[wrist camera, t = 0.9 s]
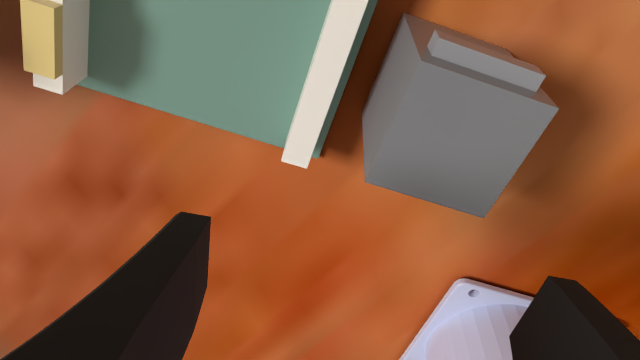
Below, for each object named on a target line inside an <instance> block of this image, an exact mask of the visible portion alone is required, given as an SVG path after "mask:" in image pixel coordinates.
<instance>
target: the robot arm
mask: <svg viewBox="0 0 640 360" xmlns="http://www.w3.org/2000/svg"><path fill="white" fill-rule="evenodd" d="M210 224H211V217H209V216H203V215H197V214H191V213H186V212H180V213H178V214H177V215H175V216H174V217H173V218H172V219H171V220H170V221H169V222H168V223H167V224H166V225H165V226H164V227H163V228H162V229H161V230H160V231H159V232H158V233H157V234H156V235H155V236H154V237H153V238H152V239H151V240H150V241H149V242H148V243H147V244H146V245H145V246H143V247H142V248H141V249H140V250H139V251H138V252H137V253H136V254H135V255H134V256H133V257H132V258H130V259H129V260H128V261H127V262H126V263H125V264H124V265H122V266H121V267H120V268H119V269H118V270H117V271H116V272H114V273H113V274H112V275H111V276H110V277H109V278H108V279H106V280H105V281H104V282H103V283H102V284H100V285H99V286H98V287H97V288H96V289H94V290H93V291H92V292H91V293H89V294H88V295H87V296H86V297H84V298H83V299H82V300H81V301H79V302H78V303H77V304H76V305H74V306H73V307H72V308H70V309H69V310H68V311H67V312H65V313H64V314H63V315H62V316H60V317H59V318H58V319H56V320H55V321H54V322H52V323H51V324H50V325H48V326H47V327H46V328H44V329H43V330H42V331H40V332H39V333H38V334H36V335H35V336H33V337H32V338H31V339H29V340H28V341H26V342H25V343H24V344H22V345H21V346H19V347H18V348H16V349H15V350H13V351H12V352H10V353H9V354H8V355H6V356H5V357H3V358H2V359H0V360H182V358H183V356H184V354H185V351H186V349H187V346H188V344H189V341H190V339H191V337H192V334H193V332H194V329H195V325H196V322H197V319H198V315H199V312H200V309H201V305H202V302H203V298H204V295H205V291H206V288H207V278H208V260H209V242H210ZM471 290H474V291H471ZM399 360H640V341H639V340H638V339H637V338H636V337H635V336H634V335H633V334H632V333H631V332H630V331H629V330H628V329H627V328H626V327H625V326H624V325H623V324H622V323H621V322H620V321H619V320H618V319H617V318H616V317H615V316H614V315H613V314H612V313H611V312H610V311H609V310H608V309H606V308H605V307H604V306H603V305H602V304H601V303H600V302H599V301H598V300H597V299H596V298H595V297H594V296H593V295H592V294H591V293H590V292H588V291H587V290H586V289H585V288H584V287H583V286H582V285H580V284H579V283H578V282H577V281H575V280H569V279H564V278H558V277H552V276H548V277H547V279H546V280H545V282H544V284H543V285H542V287H541V288H540V290H539V291H538V293H537V294H536V296H535V297H530V296H527V295H523V294H520V293H516V292H513V291H509V290H506V289H502V288H499V287H495V286H492V285H488V284H485V283H481V282H478V281H474V280H471V279H466V278H462V279H458V280H456V281H455V282H454V283H453V285H452V286H451V287H450V289H449V290H448V292H447V293H446V294H445V296H444V297H443V299H442V300H441V301H440V303H439V304H438V306H437V307H436V308H435V310H434V311H433V313H432V314H431V315H430V317H429V318H428V320H427V321H426V323H425V324H424V325H423V327H422V328H421V330H420V331H419V332H418V334H417V335H416V337H415V338H414V339H413V341H412V342H411V344H410V345H409V346H408V348H407V349H406V351H405V352H404V353H403V355H402V356H401V358H400V359H399Z"/></svg>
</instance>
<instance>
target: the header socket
mask: <svg viewBox="0 0 640 360" xmlns="http://www.w3.org/2000/svg"><path fill="white" fill-rule="evenodd" d="M377 2H378V0H20V8H21V27H22V46H23V66H24V70H25V71H28V72H31V73H33V86H35V87H38V88H42V89H45V90H48V91H52V92H55V93H58V94H61V95H63V94H64V93H66V92H67V91H68V90H70V89H71V88H72V87H74V86H75V85H80V86H83V87H86V88H89V89H93V90H96V91H99V92H102V93H106V94H109V95H112V96H115V97H119V98H122V99H125V100H128V101H132V102H135V103H138V104H142V105H145V106H148V107H151V108H155V109H158V110H161V111H164V112H168V113H171V114H174V115H177V116H181V117H184V118H187V119H190V120H194V121H197V122H200V123H203V124H207V125H210V126H213V127H216V128H220V129H223V130H226V131H230V132H233V133H236V134H239V135H243V136H246V137H249V138H252V139H256V140H259V141H262V142H265V143H269V144H272V145H275V146H278V147H282V148H284V151H283V156H282V160H281V161H283V162H286V163H289V164H293V165H296V166H299V167H302V168H306V169H307V166H308V164H309V161H310V158H311V157H314V158H318V157H319V155H320V152H321V150H322V147H323V144H324V142H325V139H326V136H327V134H328V131H329V128H330V126H331V123H332V120H333V118H334V115H335V113H336V110H337V107H338V105H339V102H340V99H341V97H342V94H343V91H344V89H345V86H346V84H347V81H348V78H349V76H350V73H351V70H352V68H353V65H354V62H355V60H356V57H357V54H358V52H359V49H360V47H361V44H362V41H363V39H364V36H365V33H366V31H367V28H368V25H369V23H370V20H371V17H372V15H373V12H374V10H375V7H376V4H377Z"/></svg>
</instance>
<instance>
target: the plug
mask: <svg viewBox="0 0 640 360" xmlns="http://www.w3.org/2000/svg"><path fill="white" fill-rule="evenodd" d="M545 77H546V75H545V74H544V73H543V72H542V71H541V70H540V69H539V68H538V67H537V66H536V65H533V64H530V63H527V62H525V61H522V60H519V59H516V58H514V57H513V56H512V55H511V54H510V53H509V51H508V50H507V49H504V48H502V47H499V46H496V45H493V44H490V43H488V42H485V41H482V40H479V39H476V38H474V37H471V36H468V35H465V34H463V33H460V32H457V31H454V30H451V29H449V28H446V27H443V26H440V25H437V24H435V23H432V22H429V21H426V20H424V19H421V18H418V17H415V16H412V15H410V14H407V13H404V12H403V14H402V16H401V18H400V21H399V23H398V26H397V28H396V31H395V33H394V35H393V38H392V40H391V43H390V45H389V47H388V50H387V52H386V55H385V57H384V59H383V62H382V64H381V67H380V69H379V72H378V74H377V76H376V79H375V81H374V84H373V86H372V88H371V91H370V93H369V96H368V98H367V100H366V103H365V105H364V108H363V110H362V126H363V149H364V171H365V182H366V183H370V184H373V185H376V186H379V187H383V188H386V189H389V190H393V191H396V192H399V193H402V194H406V195H409V196H412V197H416V198H419V199H422V200H425V201H429V202H432V203H435V204H439V205H442V206H445V207H448V208H452V209H455V210H458V211H462V212H465V213H468V214H471V215H475V216H478V217H481V218H484V217H485V216H486V214H487V213H488V212H489V210H490V209H491V207H492V206H493V204H494V203H495V201H496V200H497V198H498V197H499V196H500V194H501V193H502V191H503V190H504V188H505V187H506V185H507V184H508V182H509V181H510V180H511V178H512V177H513V175H514V174H515V172H516V171H517V169H518V168H519V166H520V165H521V164H522V162H523V161H524V159H525V158H526V156H527V155H528V153H529V152H530V150H531V149H532V148H533V146H534V145H535V143H536V142H537V140H538V139H539V137H540V136H541V134H542V133H543V132H544V130H545V129H546V127H547V126H548V124H549V123H550V121H551V120H552V118H553V117H554V116H555V114H556V113H557V111H558V110H559V108H558V106H557V105H556V104H555V103H554V102H553V101H552V100H551V99H550V97H549V96H548V95H547V94H546V93H545V92H544V91H543V90H542V88H541V87H540V85H541V83H542V82H543V80H544V79H545Z"/></svg>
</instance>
